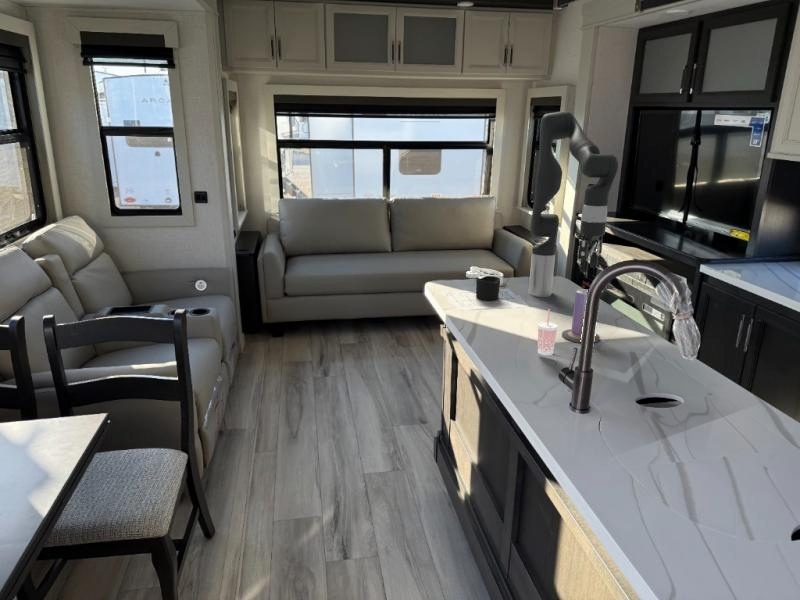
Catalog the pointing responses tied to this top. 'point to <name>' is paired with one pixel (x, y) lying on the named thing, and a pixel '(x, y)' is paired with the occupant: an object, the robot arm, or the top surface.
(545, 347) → the beverage cup
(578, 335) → the beverage can
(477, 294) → the pen holder
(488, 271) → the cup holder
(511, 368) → the top surface
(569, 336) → the coaster
